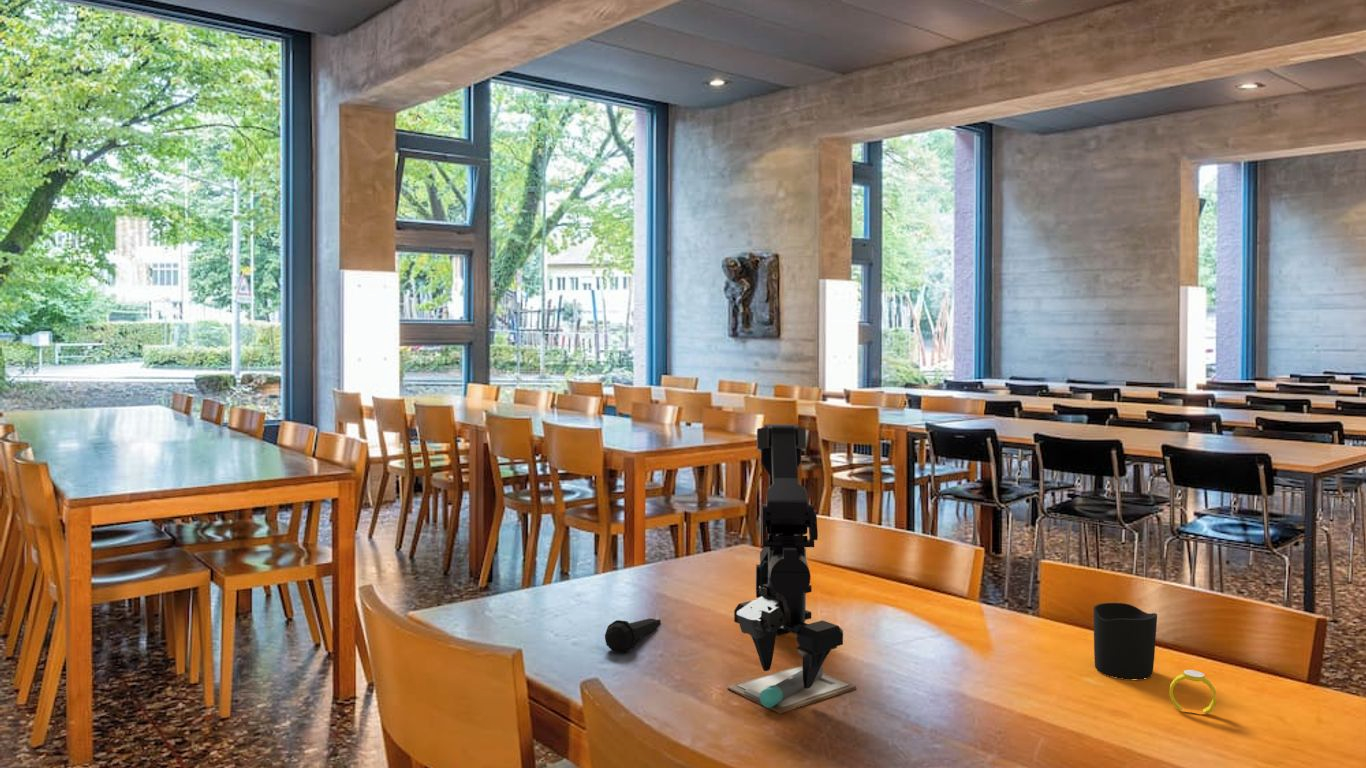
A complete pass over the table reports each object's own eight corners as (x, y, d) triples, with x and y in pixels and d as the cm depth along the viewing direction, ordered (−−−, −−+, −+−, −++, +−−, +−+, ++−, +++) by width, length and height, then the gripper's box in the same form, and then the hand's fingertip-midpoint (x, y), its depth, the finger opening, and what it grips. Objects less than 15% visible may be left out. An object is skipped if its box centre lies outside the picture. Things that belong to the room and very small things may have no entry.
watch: (1213, 714, 145) (1218, 674, 144) (1214, 721, 143) (1219, 681, 142) (1167, 704, 148) (1172, 665, 147) (1167, 711, 145) (1172, 671, 145)
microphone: (650, 639, 189) (603, 659, 170) (642, 609, 190) (595, 626, 171) (676, 633, 187) (631, 653, 169) (668, 602, 188) (623, 619, 170)
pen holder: (1151, 665, 165) (1153, 605, 164) (1158, 685, 156) (1160, 622, 155) (1090, 658, 168) (1091, 600, 167) (1093, 678, 159) (1095, 616, 158)
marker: (810, 668, 159) (818, 657, 158) (821, 680, 158) (830, 669, 157) (756, 698, 147) (765, 686, 146) (768, 711, 146) (777, 699, 145)
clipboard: (802, 667, 164) (802, 661, 164) (856, 688, 155) (856, 682, 155) (727, 689, 155) (727, 683, 155) (779, 713, 145) (779, 707, 145)
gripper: (707, 574, 154) (707, 673, 155) (789, 601, 139) (789, 710, 140) (761, 563, 161) (761, 658, 162) (846, 588, 146) (845, 692, 147)
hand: (786, 679), depth 153 cm, fingers open, 9 cm apart
